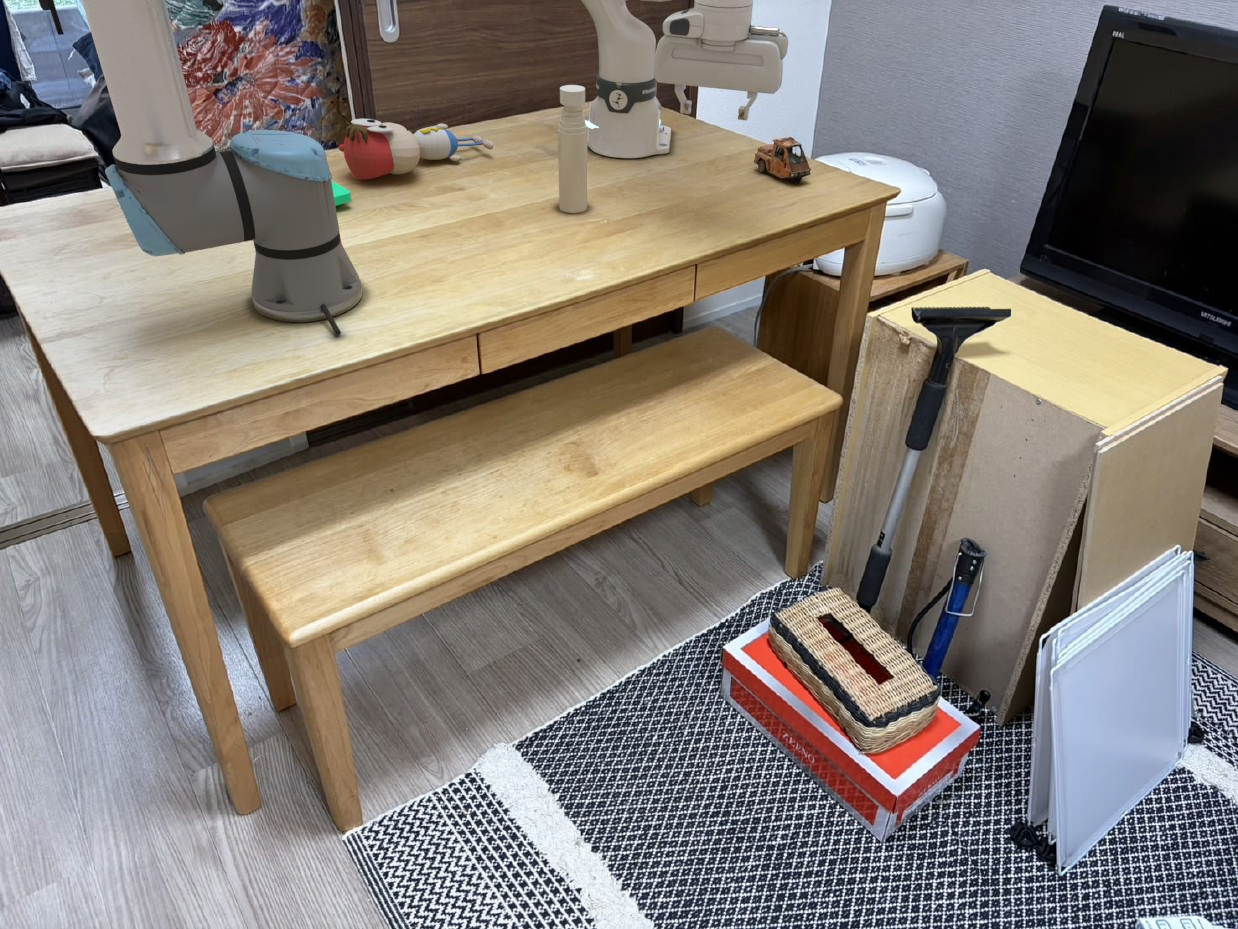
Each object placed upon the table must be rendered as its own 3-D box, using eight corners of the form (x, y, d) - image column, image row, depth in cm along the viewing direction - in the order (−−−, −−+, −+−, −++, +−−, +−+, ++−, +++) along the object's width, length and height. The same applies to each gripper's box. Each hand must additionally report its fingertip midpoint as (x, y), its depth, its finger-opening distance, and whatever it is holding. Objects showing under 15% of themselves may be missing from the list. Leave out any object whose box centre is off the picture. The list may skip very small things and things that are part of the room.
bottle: (592, 209, 165) (593, 91, 153) (570, 215, 162) (569, 96, 150) (575, 200, 168) (575, 85, 156) (553, 206, 166) (551, 89, 153)
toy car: (770, 163, 186) (774, 128, 182) (815, 180, 179) (820, 144, 175) (747, 169, 183) (751, 133, 179) (792, 187, 176) (798, 150, 172)
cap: (590, 103, 154) (590, 89, 153) (570, 107, 152) (569, 93, 151) (575, 97, 157) (575, 83, 155) (554, 101, 155) (554, 87, 153)
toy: (509, 125, 177) (354, 129, 162) (508, 179, 181) (358, 188, 166) (468, 109, 190) (322, 111, 175) (468, 160, 195) (326, 166, 180)
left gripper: (151, -134, 141) (187, 17, 154) (-38, -132, 131) (17, 30, 144) (159, -130, 136) (195, 26, 149) (-37, -127, 126) (20, 41, 138)
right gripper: (792, 24, 141) (780, 117, 150) (662, 13, 146) (658, 104, 154) (787, 33, 137) (775, 128, 145) (653, 21, 141) (648, 114, 149)
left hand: (108, 29), depth 146 cm, fingers open, 13 cm apart
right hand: (714, 116), depth 149 cm, fingers open, 8 cm apart
